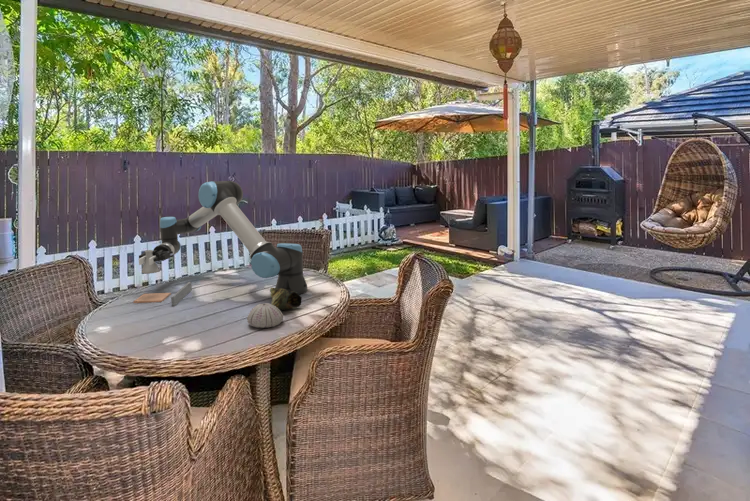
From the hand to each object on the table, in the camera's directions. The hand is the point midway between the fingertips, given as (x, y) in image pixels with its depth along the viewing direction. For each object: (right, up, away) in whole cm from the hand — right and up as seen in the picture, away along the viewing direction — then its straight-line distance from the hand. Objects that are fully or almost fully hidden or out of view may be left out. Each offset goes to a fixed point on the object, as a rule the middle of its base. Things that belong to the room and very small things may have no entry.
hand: (144, 261), depth 195 cm
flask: (-1, -5, +7) cm, 8 cm away
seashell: (+64, -20, -10) cm, 67 cm away
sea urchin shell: (+59, -23, -25) cm, 68 cm away
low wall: (+12, -17, +10) cm, 23 cm away
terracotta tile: (-1, -17, +8) cm, 19 cm away
